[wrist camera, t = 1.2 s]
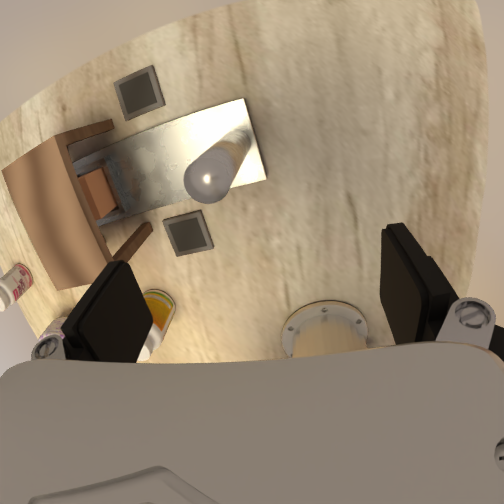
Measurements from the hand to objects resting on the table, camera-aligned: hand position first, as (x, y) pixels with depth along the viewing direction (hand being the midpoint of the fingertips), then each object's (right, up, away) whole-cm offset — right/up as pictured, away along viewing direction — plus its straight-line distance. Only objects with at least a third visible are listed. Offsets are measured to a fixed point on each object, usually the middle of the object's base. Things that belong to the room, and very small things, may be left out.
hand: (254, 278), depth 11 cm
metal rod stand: (-11, +11, +24) cm, 28 cm away
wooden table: (-22, +9, +26) cm, 35 cm away
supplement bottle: (-14, -6, +34) cm, 37 cm away
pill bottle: (-40, -3, +34) cm, 53 cm away
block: (-19, +9, +24) cm, 32 cm away
